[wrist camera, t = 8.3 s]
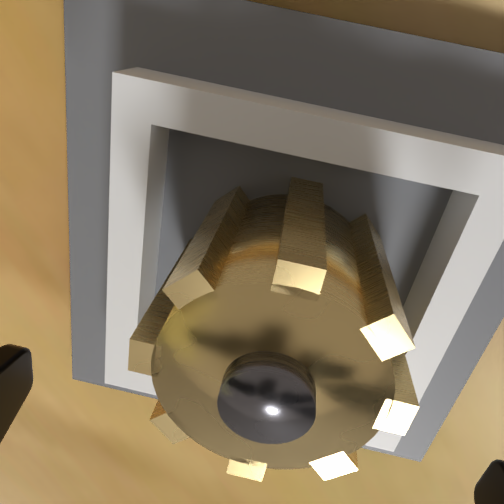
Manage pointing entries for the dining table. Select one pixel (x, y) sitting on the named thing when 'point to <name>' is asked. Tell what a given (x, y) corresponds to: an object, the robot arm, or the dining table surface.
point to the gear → (279, 337)
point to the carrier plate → (282, 167)
